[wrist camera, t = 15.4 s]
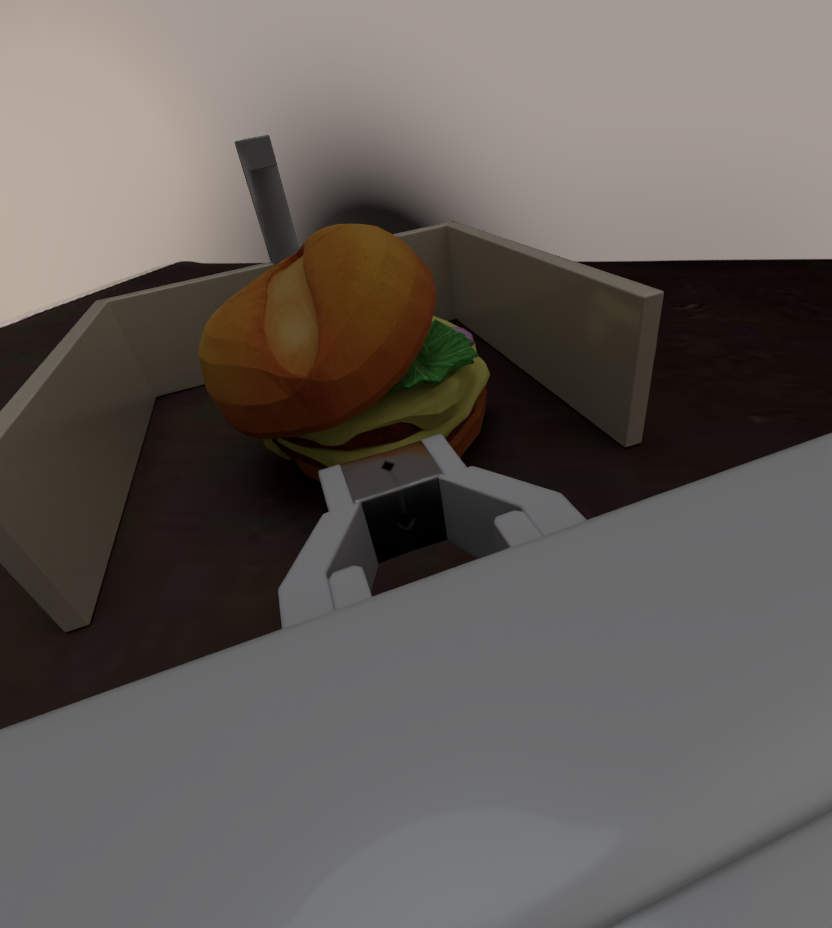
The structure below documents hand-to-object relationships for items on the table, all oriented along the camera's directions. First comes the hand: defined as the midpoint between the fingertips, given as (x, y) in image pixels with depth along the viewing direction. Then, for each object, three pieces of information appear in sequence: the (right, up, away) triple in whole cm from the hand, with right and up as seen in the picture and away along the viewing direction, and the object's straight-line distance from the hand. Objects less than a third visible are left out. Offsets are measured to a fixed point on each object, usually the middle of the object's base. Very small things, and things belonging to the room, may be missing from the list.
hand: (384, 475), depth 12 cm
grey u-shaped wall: (-3, +3, +13) cm, 14 cm away
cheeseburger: (-1, +1, +11) cm, 11 cm away
